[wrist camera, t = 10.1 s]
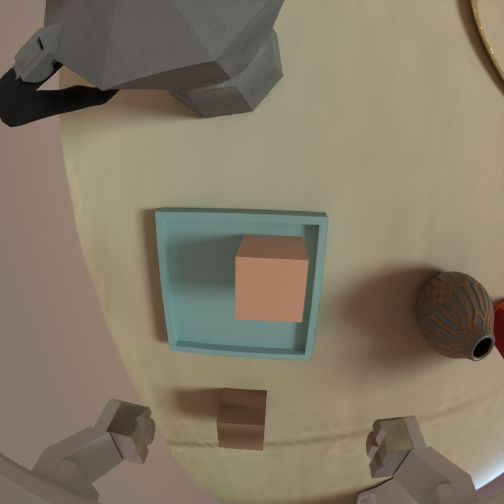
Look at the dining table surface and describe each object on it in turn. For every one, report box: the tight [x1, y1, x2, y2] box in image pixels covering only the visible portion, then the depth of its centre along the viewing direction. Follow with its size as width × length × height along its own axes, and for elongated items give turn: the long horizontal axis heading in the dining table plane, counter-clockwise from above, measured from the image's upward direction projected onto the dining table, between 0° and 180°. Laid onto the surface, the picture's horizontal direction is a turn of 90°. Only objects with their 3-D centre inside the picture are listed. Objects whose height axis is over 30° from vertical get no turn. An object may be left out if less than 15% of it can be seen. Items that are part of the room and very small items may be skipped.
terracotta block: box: [235, 234, 309, 322], centre depth 22 cm, size 4×4×5 cm
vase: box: [416, 272, 495, 361], centre depth 21 cm, size 7×7×9 cm
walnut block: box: [216, 388, 267, 450], centre depth 29 cm, size 4×4×5 cm
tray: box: [155, 208, 328, 360], centre depth 25 cm, size 13×13×2 cm
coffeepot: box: [0, 0, 284, 127], centre depth 12 cm, size 15×9×18 cm, turn 119°
